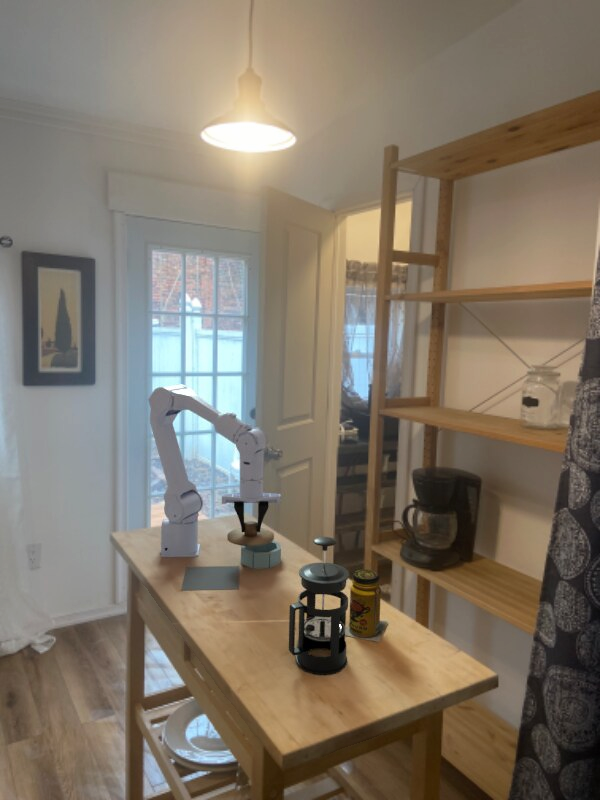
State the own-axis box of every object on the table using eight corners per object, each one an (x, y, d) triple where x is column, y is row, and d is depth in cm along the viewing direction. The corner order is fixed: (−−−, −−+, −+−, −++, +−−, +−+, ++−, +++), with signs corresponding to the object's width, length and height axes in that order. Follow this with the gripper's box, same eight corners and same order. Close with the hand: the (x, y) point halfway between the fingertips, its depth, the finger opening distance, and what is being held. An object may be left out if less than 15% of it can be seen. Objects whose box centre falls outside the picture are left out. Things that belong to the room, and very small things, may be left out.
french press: (333, 641, 116) (337, 526, 113) (360, 666, 107) (365, 543, 104) (278, 656, 110) (281, 535, 107) (302, 683, 102) (306, 554, 99)
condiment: (342, 635, 118) (344, 577, 117) (353, 616, 126) (355, 561, 124) (378, 643, 116) (381, 584, 114) (387, 622, 124) (390, 567, 122)
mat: (181, 591, 135) (181, 590, 135) (186, 567, 148) (186, 566, 148) (238, 590, 136) (238, 589, 136) (239, 567, 149) (238, 565, 149)
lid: (225, 545, 144) (225, 530, 143) (229, 530, 155) (229, 515, 155) (273, 546, 144) (274, 530, 144) (274, 530, 156) (274, 516, 155)
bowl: (241, 569, 148) (241, 554, 147) (240, 553, 158) (241, 539, 157) (281, 568, 149) (281, 553, 148) (278, 553, 159) (279, 538, 158)
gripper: (221, 482, 143) (220, 536, 145) (281, 482, 144) (280, 536, 146) (222, 474, 150) (222, 526, 152) (280, 474, 151) (279, 526, 153)
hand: (250, 530), depth 150 cm, fingers closed on lid, 3 cm apart
